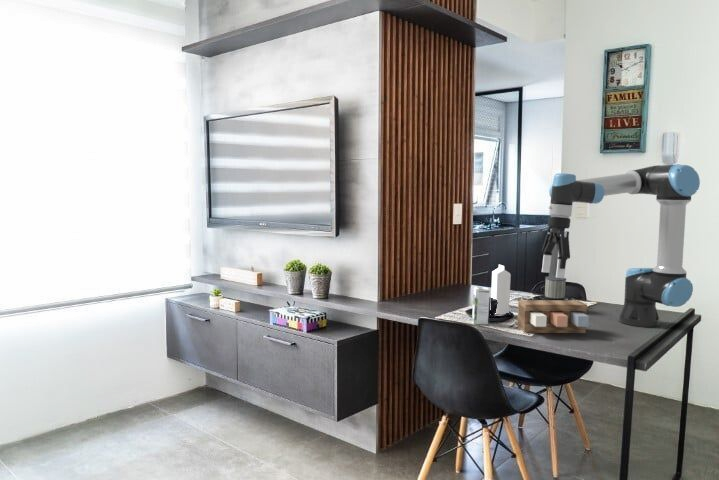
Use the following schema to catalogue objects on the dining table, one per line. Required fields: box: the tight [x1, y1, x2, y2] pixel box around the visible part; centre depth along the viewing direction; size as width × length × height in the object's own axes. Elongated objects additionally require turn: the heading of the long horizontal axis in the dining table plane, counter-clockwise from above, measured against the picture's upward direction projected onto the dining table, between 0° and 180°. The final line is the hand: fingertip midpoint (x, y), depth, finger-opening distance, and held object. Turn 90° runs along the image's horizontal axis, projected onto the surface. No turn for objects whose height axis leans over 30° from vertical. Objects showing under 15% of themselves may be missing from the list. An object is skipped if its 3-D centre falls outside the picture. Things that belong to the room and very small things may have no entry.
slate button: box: [570, 311, 590, 328], centre depth 210 cm, size 4×9×4 cm, turn 3°
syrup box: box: [471, 286, 491, 325], centre depth 225 cm, size 6×6×14 cm
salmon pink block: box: [549, 311, 568, 327], centre depth 210 cm, size 4×9×4 cm, turn 3°
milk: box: [490, 264, 512, 314], centre depth 238 cm, size 6×6×22 cm
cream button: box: [529, 311, 547, 327], centre depth 210 cm, size 4×9×4 cm, turn 3°
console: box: [516, 299, 588, 334], centre depth 216 cm, size 24×8×11 cm, turn 93°
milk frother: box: [526, 275, 567, 300], centre depth 253 cm, size 14×16×15 cm
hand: (552, 275), depth 201 cm, fingers open, 13 cm apart
